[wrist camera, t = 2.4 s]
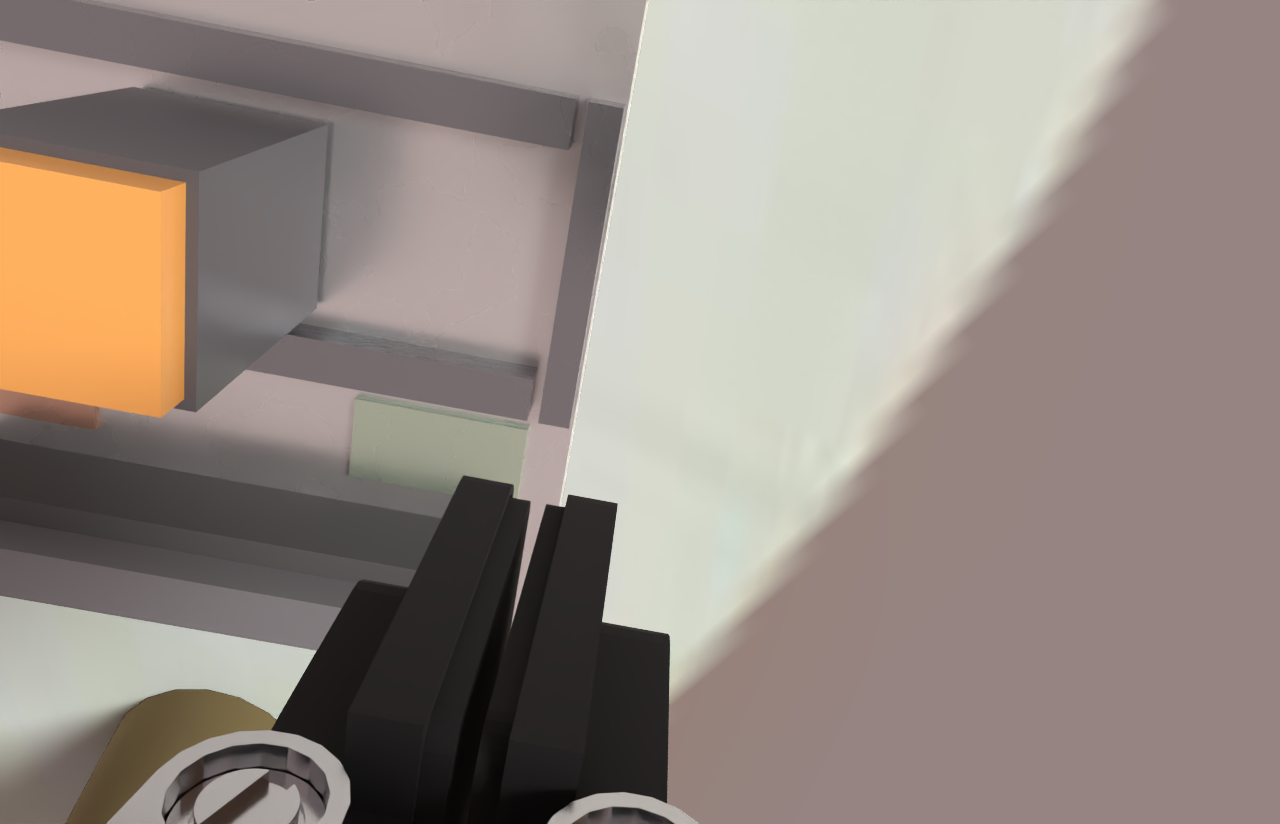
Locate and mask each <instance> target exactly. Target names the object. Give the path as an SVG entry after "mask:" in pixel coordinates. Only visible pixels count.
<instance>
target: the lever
mask: <svg viewBox="0 0 1280 824" xmlns="http://www.w3.org/2000/svg"><path fill="white" fill-rule="evenodd" d="M327 133H328V124H324V123H319V122H314V121H308V120H303V119H298V118H293V117H288V116H282V115H277V114H272V113H267V112H262V111H256V110H251V109H246V108H241V107H236V106H231V105H225V104H220V103H215V102H210V101H205V100H199V99H194V98H189V97H184V96H179V95H174V94H168V93H163V92H158V91H153V90H148V89H142V88H137V87H129V88H123V89H117V90H111V91H105V92H99V93H93V94H87V95H81V96H75V97H70V98H64V99H58V100H52V101H46V102H40V103H34V104H28V105H22V106H16V107H10V108H4V109H0V389H3V390H9V391H14V392H20V393H25V394H31V395H36V396H42V397H47V398H53V399H59V400H64V401H70V402H75V403H81V404H86V405H92V406H97V407H103V408H108V409H114V410H119V411H125V412H130V413H136V414H141V415H147V416H152V417H158V418H162V417H163V416H164V415H165V414H167V413H168V412H169V411H170V410H171V409H173V408H175V409H180V410H186V411H191V412H197V411H198V410H199V409H201V408H202V407H203V406H204V405H205V404H206V403H208V402H209V401H210V400H211V399H212V398H213V397H214V396H216V395H217V394H218V393H219V392H220V391H221V390H223V389H224V388H225V387H226V386H227V385H228V384H230V383H231V382H232V381H233V380H234V379H235V378H236V377H238V376H239V375H240V374H241V373H242V372H243V371H245V370H246V369H247V368H248V367H249V366H250V365H252V364H253V363H254V362H255V361H256V360H257V359H259V358H260V357H261V356H262V355H263V354H264V353H265V352H267V351H268V350H269V349H270V348H271V347H272V346H274V345H275V344H276V343H277V342H278V341H279V340H281V339H282V338H283V337H284V336H285V335H286V334H287V333H289V332H290V331H291V330H292V329H293V328H294V327H296V326H297V325H298V324H299V323H300V322H301V321H303V320H304V319H305V318H306V317H307V316H308V315H309V314H311V313H312V312H313V311H314V310H315V309H316V308H317V296H318V280H319V264H320V247H321V231H322V215H323V198H324V182H325V166H326V150H327Z"/></svg>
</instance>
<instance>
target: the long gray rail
mask: <svg viewBox="0 0 1280 824" xmlns="http://www.w3.org/2000/svg"><path fill="white" fill-rule="evenodd" d="M441 519H442V518H438V517H432V516H427V515H421V514H416V513H410V512H405V511H399V510H393V509H388V508H382V507H377V506H371V505H366V504H360V503H354V502H349V501H343V500H338V499H332V498H327V497H321V496H315V495H310V494H304V493H299V492H293V491H288V490H282V489H276V488H271V487H265V486H260V485H254V484H248V483H243V482H237V481H232V480H226V479H221V478H215V477H209V476H204V475H198V474H193V473H187V472H182V471H176V470H170V469H165V468H159V467H154V466H148V465H143V464H137V463H131V462H126V461H120V460H115V459H109V458H104V457H98V456H92V455H87V454H81V453H76V452H70V451H65V450H59V449H53V448H48V447H42V446H37V445H31V444H25V443H20V442H14V441H9V440H3V439H0V595H1V596H6V597H12V598H18V599H24V600H29V601H35V602H41V603H47V604H52V605H58V606H64V607H70V608H75V609H81V610H87V611H93V612H98V613H104V614H110V615H116V616H121V617H127V618H133V619H139V620H144V621H150V622H156V623H162V624H167V625H173V626H179V627H185V628H191V629H196V630H202V631H208V632H214V633H219V634H225V635H231V636H237V637H242V638H248V639H254V640H260V641H265V642H271V643H277V644H283V645H288V646H294V647H300V648H306V649H311V650H318V648H319V646H320V645H321V643H322V641H323V640H324V638H325V636H326V634H327V633H328V631H329V629H330V627H331V626H332V624H333V622H334V621H335V619H336V617H337V615H338V614H339V612H340V610H341V609H342V607H343V605H344V603H345V602H346V600H347V598H348V596H349V595H350V593H351V591H352V590H353V588H354V587H355V585H356V584H357V583H358V581H359V580H363V579H365V580H371V581H376V582H382V583H387V584H393V585H399V586H404V587H409V585H410V583H411V581H412V579H413V577H414V575H415V573H416V571H417V569H418V566H419V564H420V562H421V560H422V558H423V556H424V554H425V552H426V550H427V548H428V546H429V544H430V542H431V540H432V538H433V535H434V533H435V531H436V529H437V527H438V525H439V523H440V521H441Z"/></svg>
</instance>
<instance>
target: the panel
mask: <svg viewBox="0 0 1280 824" xmlns="http://www.w3.org/2000/svg"><path fill="white" fill-rule="evenodd" d="M648 5H649V0H0V109H4V108H10V107H16V106H22V105H28V104H34V103H40V102H46V101H52V100H58V99H64V98H70V97H75V96H81V95H87V94H93V93H99V92H105V91H111V90H117V89H123V88H129V87H137V88H142V89H148V90H153V91H158V92H163V93H168V94H174V95H179V96H184V97H189V98H194V99H199V100H205V101H210V102H215V103H220V104H225V105H231V106H236V107H241V108H246V109H251V110H256V111H262V112H267V113H272V114H277V115H282V116H288V117H293V118H298V119H303V120H308V121H314V122H319V123H324V124H328V133H327V150H326V166H325V182H324V198H323V215H322V231H321V247H320V264H319V280H318V296H317V308H316V309H315V310H314V311H313V312H312V313H311V314H309V315H308V316H307V317H306V318H305V319H304V320H303V321H301V322H300V323H299V324H298V325H297V326H296V327H294V328H293V329H292V330H291V331H290V332H289V333H287V334H286V335H285V336H284V337H283V338H282V339H281V340H279V341H278V342H277V343H276V344H275V345H274V346H272V347H271V348H270V349H269V350H268V351H267V352H265V353H264V354H263V355H262V356H261V357H260V358H259V359H257V360H256V361H255V362H254V363H253V364H252V365H250V366H249V367H248V368H247V369H246V370H245V371H243V372H242V373H241V374H240V375H239V376H238V377H236V378H235V379H234V380H233V381H232V382H231V383H230V384H228V385H227V386H226V387H225V388H224V389H223V390H221V391H220V392H219V393H218V394H217V395H216V396H214V397H213V398H212V399H211V400H210V401H209V402H208V403H206V404H205V405H204V406H203V407H202V408H201V409H199V410H198V411H197V412H191V411H186V410H180V409H175V408H173V409H171V410H170V411H169V412H168V413H167V414H165V415H164V416H163V417H162V418H158V417H152V416H147V415H141V414H136V413H130V412H125V411H119V410H114V409H108V408H103V407H97V406H92V405H86V404H81V403H75V402H70V401H64V400H59V399H53V398H47V397H42V396H36V395H31V394H25V393H20V392H14V391H9V390H3V389H0V439H3V440H9V441H14V442H20V443H25V444H31V445H37V446H42V447H48V448H53V449H59V450H65V451H70V452H76V453H81V454H87V455H92V456H98V457H104V458H109V459H115V460H120V461H126V462H131V463H137V464H143V465H148V466H154V467H159V468H165V469H170V470H176V471H182V472H187V473H193V474H198V475H204V476H209V477H215V478H221V479H226V480H232V481H237V482H243V483H248V484H254V485H260V486H265V487H271V488H276V489H282V490H288V491H293V492H299V493H304V494H310V495H315V496H321V497H327V498H332V499H338V500H343V501H349V502H354V503H360V504H366V505H371V506H377V507H382V508H388V509H393V510H399V511H405V512H410V513H416V514H421V515H427V516H432V517H438V518H442V517H443V515H444V513H445V511H446V509H447V507H448V505H449V502H450V500H451V498H452V496H453V494H454V492H455V490H456V488H457V486H458V484H459V482H460V480H461V478H462V476H463V475H465V476H471V477H476V478H481V479H487V480H492V481H498V482H503V483H509V484H514V494H513V498H517V499H522V500H528V501H531V505H530V513H529V519H528V525H527V532H526V538H525V544H524V550H523V556H522V562H521V569H520V575H519V581H518V587H517V593H516V599H515V606H514V612H513V618H512V623H513V619H514V616H515V612H516V609H517V605H518V602H519V598H520V595H521V591H522V588H523V584H524V580H525V577H526V573H527V570H528V566H529V563H530V559H531V556H532V552H533V549H534V545H535V541H536V538H537V534H538V531H539V527H540V524H541V520H542V517H543V513H544V510H545V506H546V504H549V505H555V506H560V507H561V505H562V499H563V493H564V488H565V482H566V476H567V470H568V465H569V459H570V453H571V447H572V442H573V436H574V430H575V424H576V419H577V413H578V407H579V401H580V396H581V390H582V384H583V378H584V373H585V367H586V361H587V355H588V350H589V344H590V338H591V332H592V327H593V321H594V315H595V309H596V304H597V298H598V292H599V286H600V281H601V275H602V269H603V263H604V258H605V252H606V246H607V240H608V235H609V229H610V223H611V217H612V212H613V206H614V200H615V194H616V189H617V183H618V177H619V171H620V166H621V160H622V154H623V148H624V143H625V137H626V131H627V125H628V120H629V114H630V108H631V102H632V97H633V91H634V85H635V79H636V74H637V68H638V62H639V56H640V51H641V45H642V39H643V33H644V28H645V22H646V16H647V10H648ZM511 627H512V624H511Z"/></svg>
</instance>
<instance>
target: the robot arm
mask: <svg viewBox="0 0 1280 824" xmlns="http://www.w3.org/2000/svg"><path fill="white" fill-rule="evenodd" d="M513 494H514V484H509V483H503V482H498V481H492V480H487V479H481V478H476V477H471V476H465V475H463V476H462V478H461V480H460V482H459V484H458V486H457V488H456V490H455V492H454V494H453V496H452V498H451V500H450V502H449V505H448V507H447V509H446V511H445V513H444V515H443V517H442V519H441V521H440V523H439V525H438V527H437V529H436V531H435V533H434V535H433V538H432V540H431V542H430V544H429V546H428V548H427V550H426V552H425V554H424V556H423V558H422V560H421V562H420V564H419V566H418V569H417V571H416V573H415V575H414V577H413V579H412V581H411V583H410V585H409V587H404V586H399V585H393V584H387V583H382V582H376V581H371V580H365V579H363V580H359V581H358V583H357V584H356V585H355V587H354V588H353V590H352V591H351V593H350V595H349V596H348V598H347V600H346V602H345V603H344V605H343V607H342V609H341V610H340V612H339V614H338V615H337V617H336V619H335V621H334V622H333V624H332V626H331V627H330V629H329V631H328V633H327V634H326V636H325V638H324V640H323V641H322V643H321V645H320V646H319V648H318V650H317V652H316V653H315V655H314V657H313V658H312V660H311V662H310V664H309V665H308V667H307V669H306V670H305V672H304V674H303V676H302V677H301V679H300V681H299V683H298V684H297V686H296V688H295V689H294V691H293V693H292V695H291V696H290V698H289V700H288V701H287V703H286V705H285V707H284V708H283V710H282V712H281V713H280V715H279V717H278V719H277V720H276V722H275V724H274V726H273V727H272V729H271V730H262V731H239V732H234V733H230V734H226V735H222V736H218V737H214V738H209V739H207V740H205V741H202V742H200V743H198V744H196V745H194V746H192V747H190V748H188V749H185V750H183V751H181V752H180V753H178V754H177V755H176V756H174V757H173V758H172V759H171V760H169V761H168V762H167V763H166V764H164V765H163V766H162V767H161V768H159V769H158V770H157V771H156V772H155V773H154V774H153V775H152V776H151V777H150V778H149V779H148V780H147V782H146V783H145V784H144V785H143V786H142V787H141V788H140V789H139V790H138V791H137V792H136V793H135V794H134V795H133V796H132V797H131V798H130V799H129V800H128V801H127V802H126V804H125V805H124V806H123V807H122V808H121V809H120V810H119V811H118V812H117V813H116V814H115V815H114V816H113V817H112V818H111V819H110V820H109V821H108V822H107V823H106V824H699V823H698V822H696V821H695V820H693V819H692V818H691V817H689V816H688V815H687V814H685V813H684V812H682V811H681V810H680V809H678V808H676V807H674V806H671V805H669V804H667V770H668V719H669V666H670V637H669V635H668V634H665V633H659V632H654V631H648V630H643V629H637V628H631V627H626V626H620V625H615V624H609V623H604V622H602V617H603V610H604V602H605V595H606V587H607V580H608V572H609V565H610V557H611V550H612V542H613V535H614V527H615V520H616V512H617V503H612V502H606V501H601V500H595V499H590V498H585V497H579V496H574V495H568V498H567V502H566V506H565V507H560V506H555V505H549V504H546V506H545V510H544V513H543V517H542V520H541V524H540V527H539V531H538V534H537V538H536V541H535V545H534V549H533V552H532V556H531V559H530V563H529V566H528V570H527V573H526V577H525V580H524V584H523V588H522V591H521V595H520V598H519V602H518V605H517V609H516V612H515V616H514V619H513V623H512V618H513V612H514V606H515V599H516V593H517V587H518V581H519V575H520V569H521V562H522V556H523V550H524V544H525V538H526V532H527V525H528V519H529V513H530V505H531V501H528V500H522V499H517V498H513ZM511 624H512V627H511Z"/></svg>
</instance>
